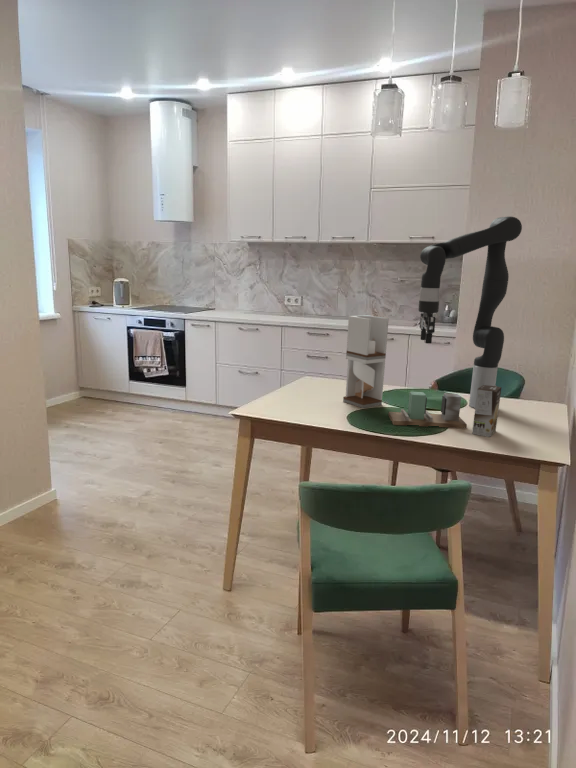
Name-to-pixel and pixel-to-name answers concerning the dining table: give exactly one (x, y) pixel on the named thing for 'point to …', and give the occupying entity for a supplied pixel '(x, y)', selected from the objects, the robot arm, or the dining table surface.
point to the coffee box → (486, 410)
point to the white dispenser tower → (366, 360)
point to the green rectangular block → (417, 405)
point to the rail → (435, 415)
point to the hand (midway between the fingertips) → (425, 341)
